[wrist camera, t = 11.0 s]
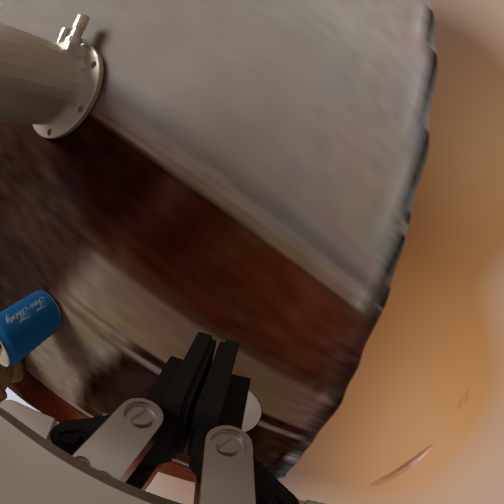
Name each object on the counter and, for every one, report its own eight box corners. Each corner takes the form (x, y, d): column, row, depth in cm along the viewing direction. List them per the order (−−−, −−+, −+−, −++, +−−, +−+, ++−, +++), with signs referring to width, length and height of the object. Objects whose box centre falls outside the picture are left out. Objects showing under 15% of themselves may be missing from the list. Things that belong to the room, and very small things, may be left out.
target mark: (176, 363, 32) (175, 364, 32) (272, 389, 31) (272, 390, 31) (171, 419, 35) (170, 420, 35) (249, 441, 35) (249, 442, 34)
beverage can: (68, 308, 32) (11, 351, 20) (60, 336, 34) (11, 378, 22) (39, 279, 32) (-20, 312, 20) (33, 308, 33) (-18, 343, 22)
